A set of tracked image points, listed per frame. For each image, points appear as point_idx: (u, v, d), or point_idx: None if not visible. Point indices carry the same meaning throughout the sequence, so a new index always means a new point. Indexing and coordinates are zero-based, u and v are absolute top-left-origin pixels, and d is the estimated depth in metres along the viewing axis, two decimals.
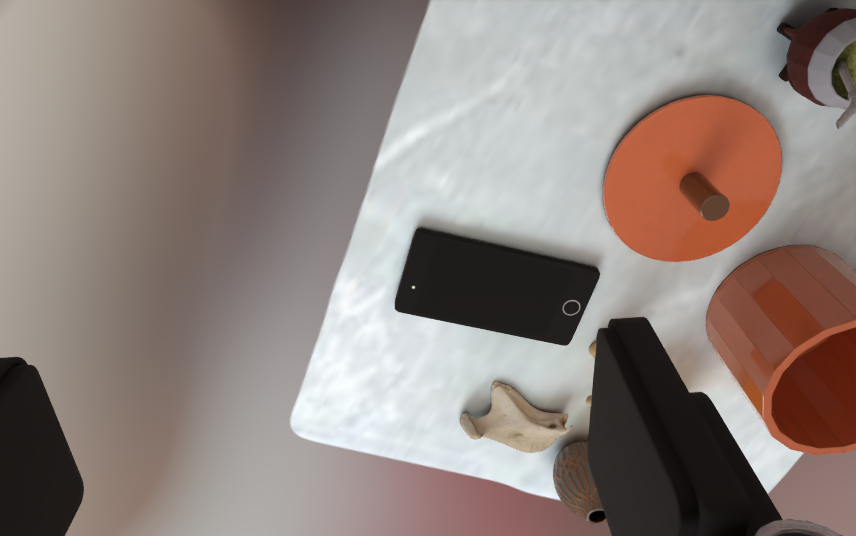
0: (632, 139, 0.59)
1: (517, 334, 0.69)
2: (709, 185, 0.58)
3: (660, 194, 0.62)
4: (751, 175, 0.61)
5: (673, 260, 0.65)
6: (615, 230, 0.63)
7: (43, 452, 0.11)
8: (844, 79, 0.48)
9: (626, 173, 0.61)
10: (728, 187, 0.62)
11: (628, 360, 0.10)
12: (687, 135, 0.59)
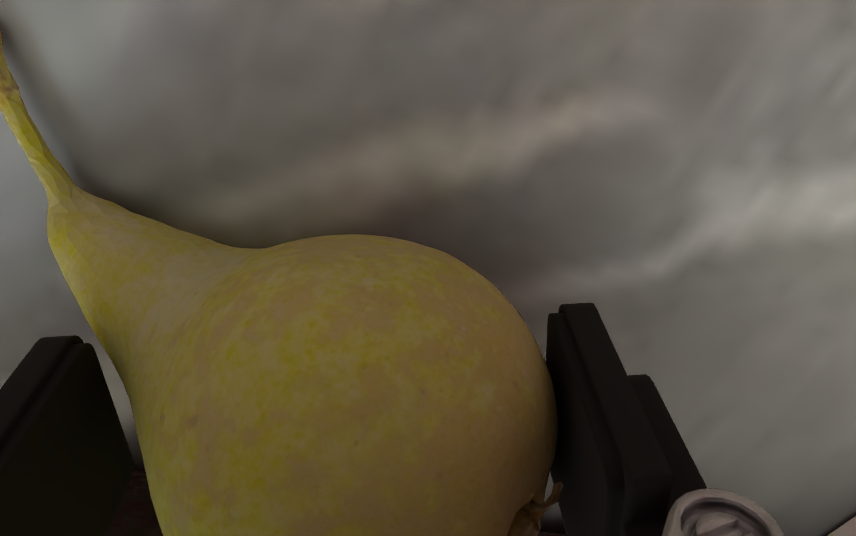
0: None
1: None
2: None
3: None
4: None
5: None
6: None
7: (99, 427, 0.12)
8: None
9: None
10: None
11: (572, 343, 0.10)
12: None
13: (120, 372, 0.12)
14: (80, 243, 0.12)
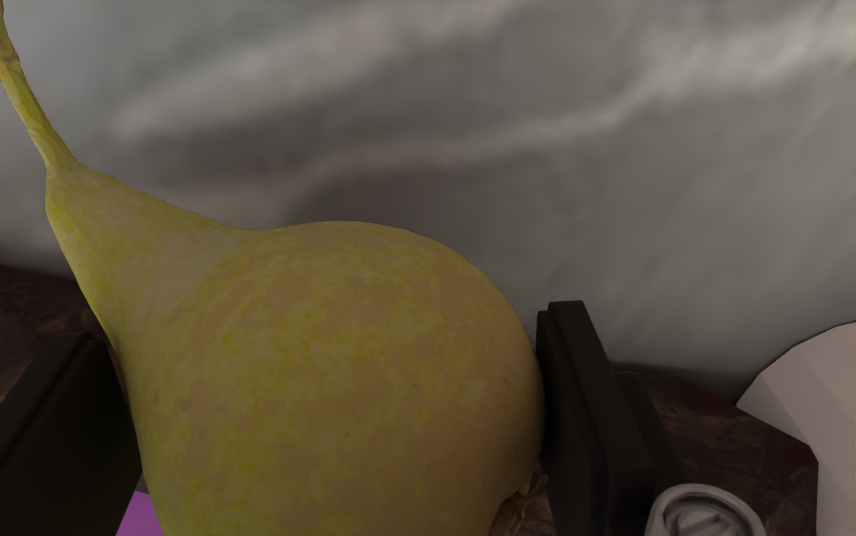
0: None
1: None
2: None
3: None
4: None
5: None
6: None
7: (111, 423, 0.12)
8: None
9: None
10: None
11: (560, 340, 0.11)
12: None
13: (115, 348, 0.12)
14: (78, 217, 0.12)
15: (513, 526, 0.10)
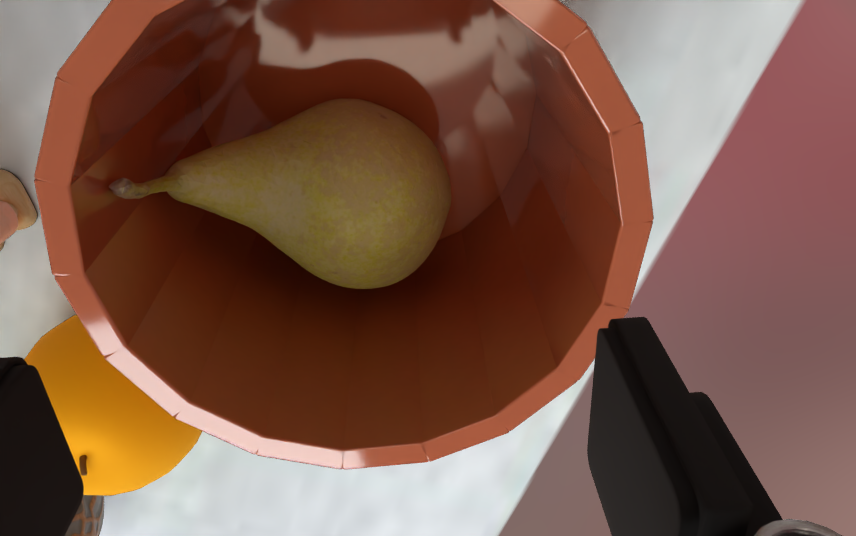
0: None
1: None
2: None
3: None
4: None
5: None
6: None
7: (42, 452, 0.11)
8: None
9: None
10: None
11: (628, 360, 0.10)
12: None
13: (251, 228, 0.24)
14: (202, 201, 0.22)
15: None
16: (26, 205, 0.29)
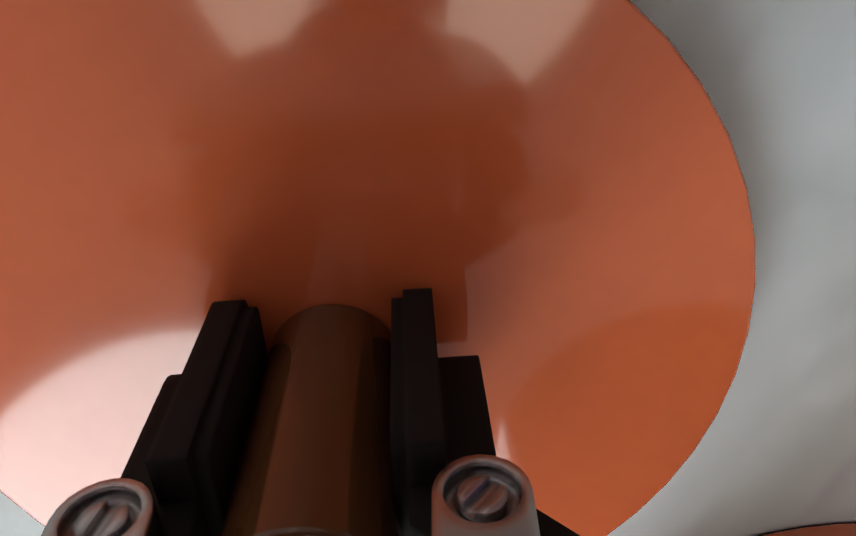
0: None
1: None
2: (314, 419, 0.10)
3: None
4: (610, 307, 0.13)
5: None
6: None
7: None
8: None
9: None
10: (511, 361, 0.13)
11: (400, 324, 0.11)
12: (221, 127, 0.11)
13: None
14: None
15: None
16: None
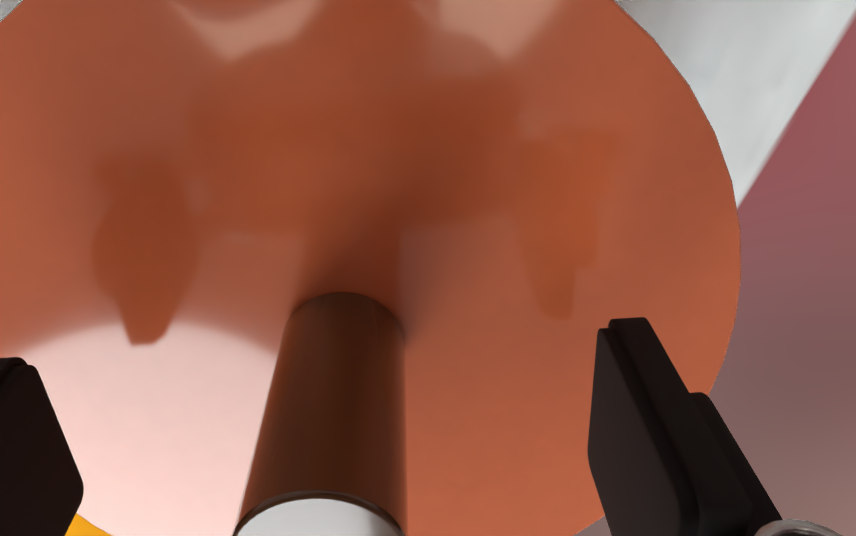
0: None
1: None
2: (326, 396, 0.10)
3: (216, 385, 0.14)
4: (604, 296, 0.13)
5: None
6: (86, 516, 0.16)
7: (43, 452, 0.11)
8: None
9: (16, 311, 0.13)
10: (510, 347, 0.14)
11: (628, 360, 0.10)
12: (239, 124, 0.12)
13: None
14: None
15: None
16: None
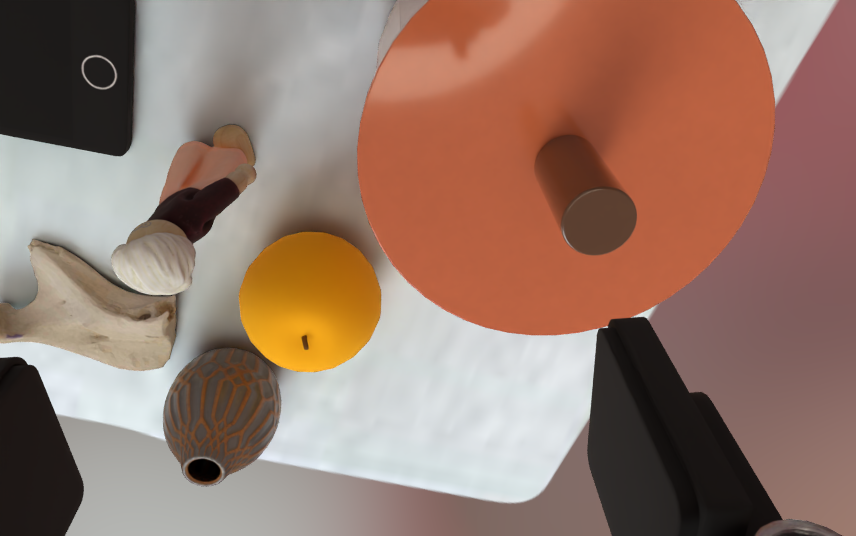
0: (400, 59, 0.24)
1: (18, 133, 0.37)
2: (589, 164, 0.23)
3: (494, 190, 0.27)
4: (703, 138, 0.26)
5: (547, 332, 0.30)
6: (405, 275, 0.28)
7: (43, 453, 0.11)
8: None
9: (403, 144, 0.26)
10: (651, 169, 0.26)
11: (628, 360, 0.10)
12: (535, 43, 0.24)
13: None
14: None
15: None
16: (250, 152, 0.39)
